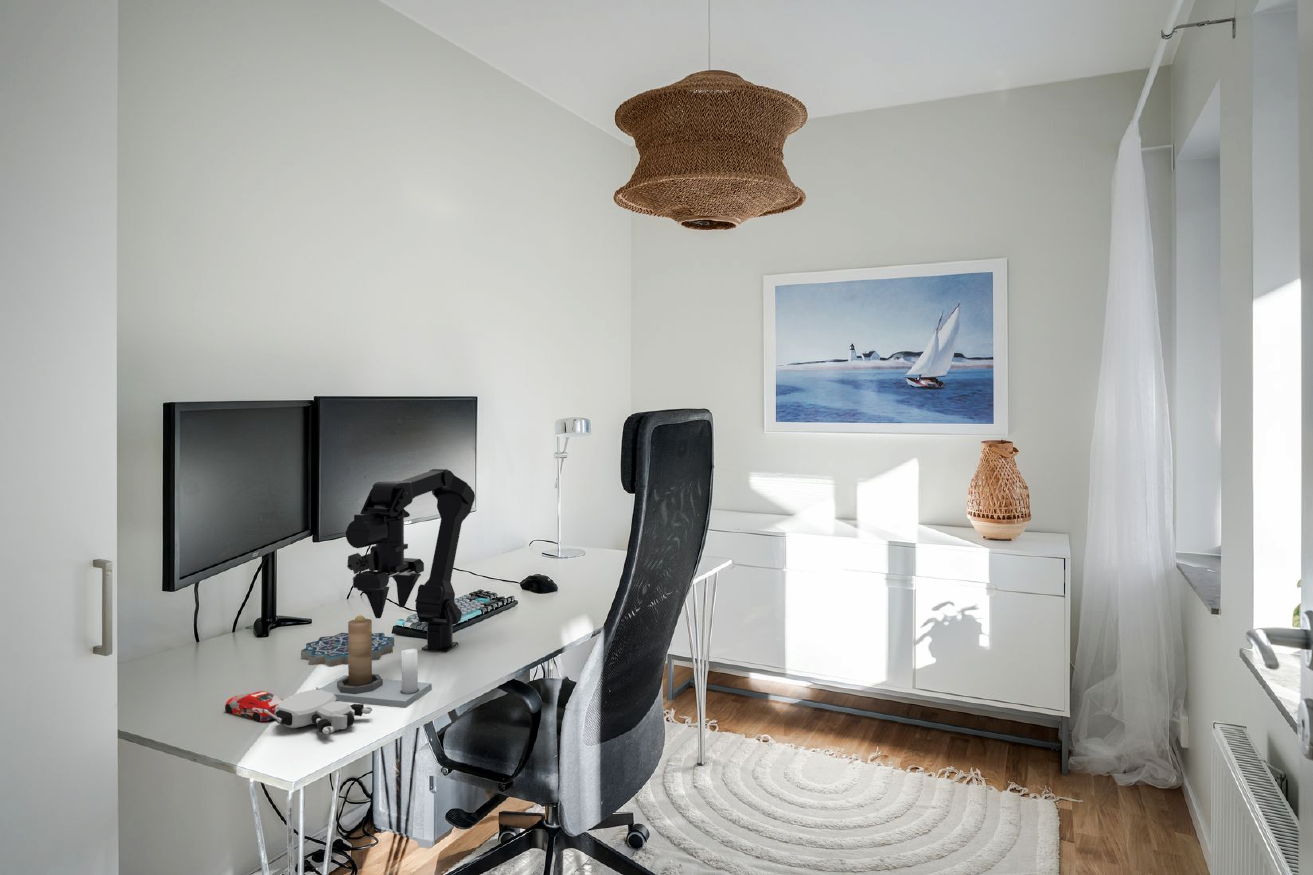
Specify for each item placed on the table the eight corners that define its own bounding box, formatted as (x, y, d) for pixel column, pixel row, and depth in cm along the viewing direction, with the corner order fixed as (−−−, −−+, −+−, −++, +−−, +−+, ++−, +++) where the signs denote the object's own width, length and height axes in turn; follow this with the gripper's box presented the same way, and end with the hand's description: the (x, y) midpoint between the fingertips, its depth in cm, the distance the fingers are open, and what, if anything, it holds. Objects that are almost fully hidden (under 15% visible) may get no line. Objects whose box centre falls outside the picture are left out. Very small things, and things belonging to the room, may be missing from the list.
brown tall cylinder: (352, 681, 158) (352, 612, 158) (374, 681, 159) (374, 612, 158) (345, 689, 154) (345, 618, 153) (368, 689, 154) (368, 618, 154)
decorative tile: (369, 635, 196) (369, 626, 196) (409, 653, 182) (409, 643, 182) (287, 653, 181) (287, 643, 181) (323, 674, 168) (323, 663, 167)
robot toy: (376, 723, 144) (313, 705, 149) (377, 699, 143) (314, 682, 149) (326, 750, 132) (259, 730, 138) (327, 724, 132) (261, 705, 137)
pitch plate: (344, 680, 163) (343, 637, 162) (431, 688, 158) (431, 644, 158) (313, 698, 153) (312, 651, 153) (405, 707, 149) (405, 659, 148)
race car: (219, 712, 146) (219, 691, 146) (246, 703, 151) (246, 682, 151) (265, 726, 140) (264, 704, 140) (291, 715, 145) (291, 694, 145)
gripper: (380, 532, 178) (381, 599, 178) (329, 546, 160) (329, 621, 160) (425, 534, 175) (425, 602, 176) (378, 548, 157) (378, 625, 158)
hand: (390, 612), depth 168 cm, fingers open, 9 cm apart
